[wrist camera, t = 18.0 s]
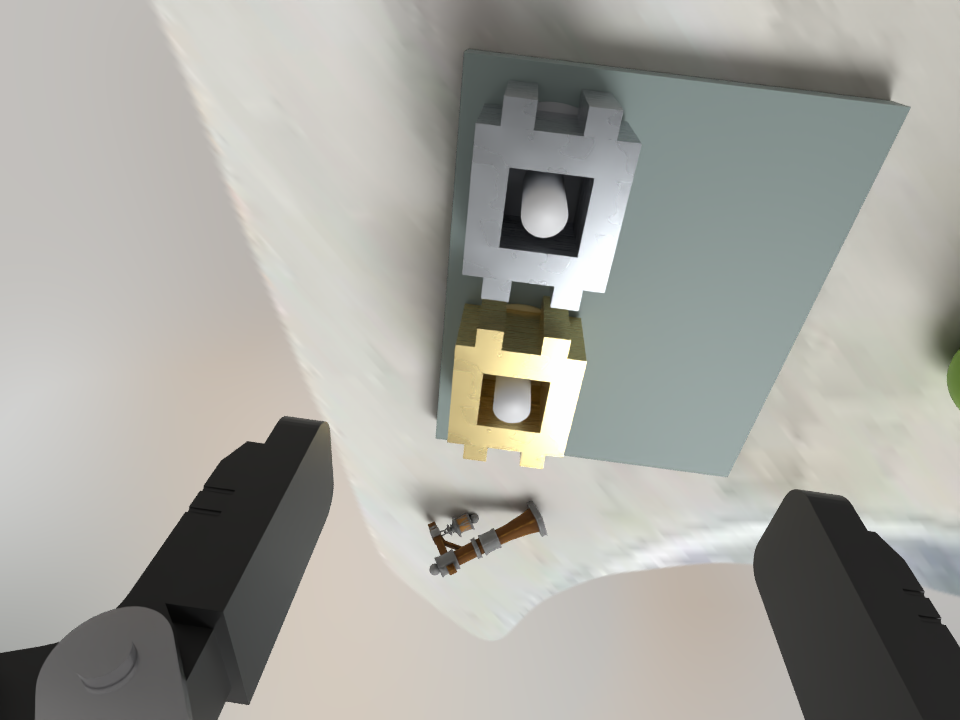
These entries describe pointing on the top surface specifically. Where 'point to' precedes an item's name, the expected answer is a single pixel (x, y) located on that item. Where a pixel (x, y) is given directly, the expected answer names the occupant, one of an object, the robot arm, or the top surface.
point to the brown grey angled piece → (480, 538)
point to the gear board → (680, 250)
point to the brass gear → (520, 354)
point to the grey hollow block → (555, 149)
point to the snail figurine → (954, 379)
